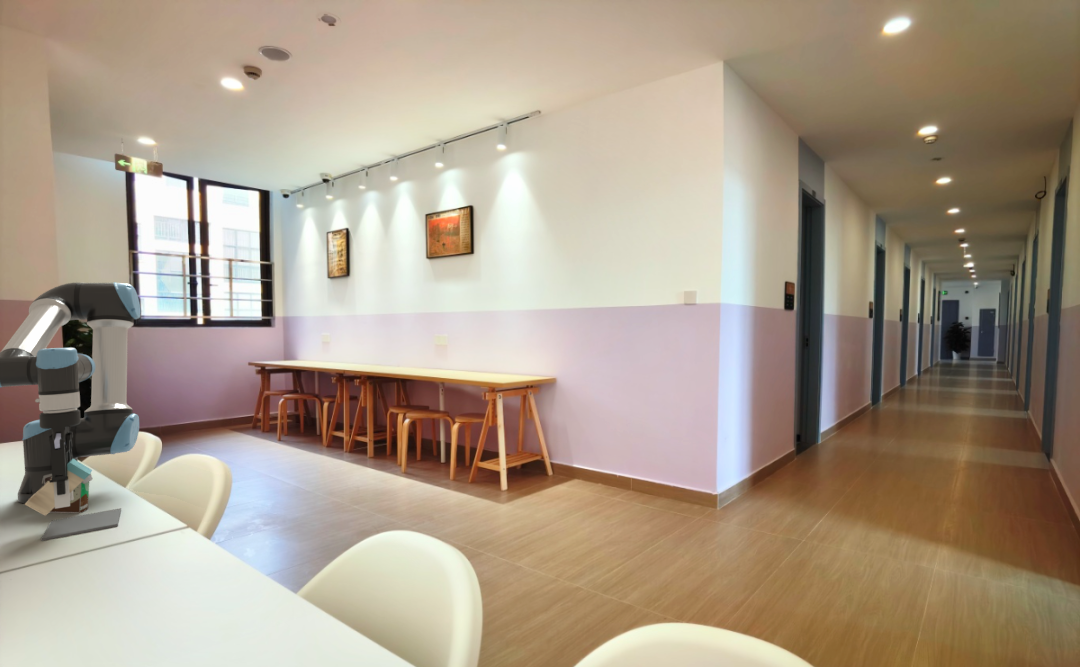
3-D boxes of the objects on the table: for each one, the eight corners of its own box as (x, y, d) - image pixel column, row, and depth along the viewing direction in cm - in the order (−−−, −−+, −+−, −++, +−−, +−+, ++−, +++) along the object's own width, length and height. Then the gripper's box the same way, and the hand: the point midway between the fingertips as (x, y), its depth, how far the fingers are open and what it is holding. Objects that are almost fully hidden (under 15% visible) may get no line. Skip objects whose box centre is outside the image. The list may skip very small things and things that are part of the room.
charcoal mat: (51, 522, 136) (51, 520, 136) (121, 510, 144) (121, 508, 144) (41, 540, 125) (41, 538, 125) (117, 526, 133) (117, 523, 133)
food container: (105, 505, 149) (104, 469, 149) (85, 513, 143) (83, 476, 142) (65, 504, 150) (64, 469, 150) (43, 512, 144) (41, 475, 144)
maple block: (28, 498, 130) (73, 458, 135) (49, 510, 132) (92, 470, 137) (24, 504, 126) (70, 462, 131) (45, 516, 128) (89, 474, 133)
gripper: (46, 407, 137) (50, 497, 137) (31, 417, 122) (36, 518, 123) (84, 404, 141) (88, 491, 142) (74, 413, 126) (79, 510, 127)
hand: (64, 503), depth 132 cm, fingers closed on maple block, 5 cm apart
